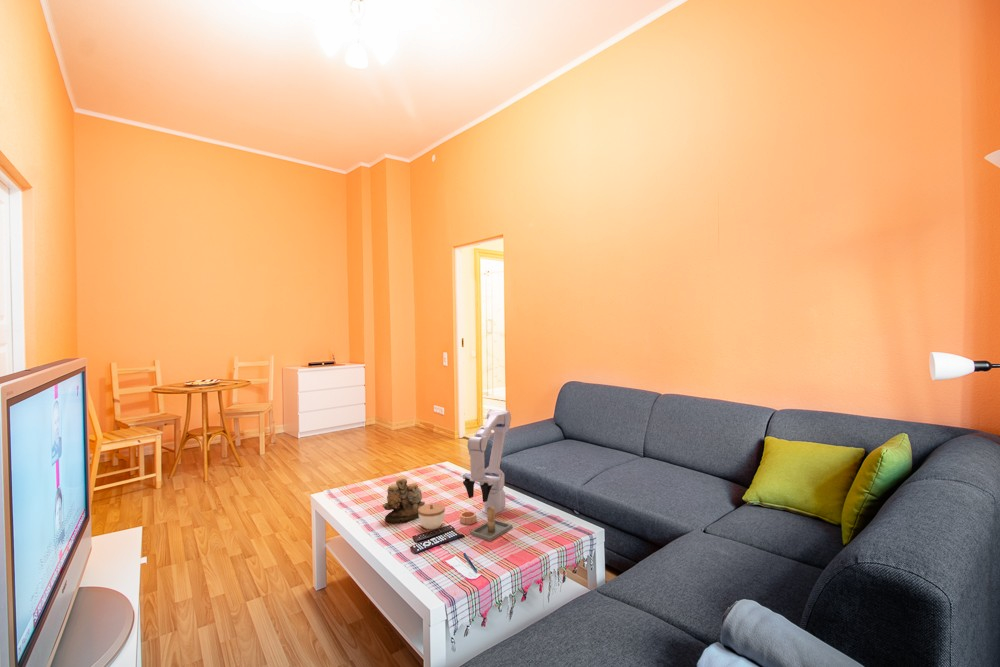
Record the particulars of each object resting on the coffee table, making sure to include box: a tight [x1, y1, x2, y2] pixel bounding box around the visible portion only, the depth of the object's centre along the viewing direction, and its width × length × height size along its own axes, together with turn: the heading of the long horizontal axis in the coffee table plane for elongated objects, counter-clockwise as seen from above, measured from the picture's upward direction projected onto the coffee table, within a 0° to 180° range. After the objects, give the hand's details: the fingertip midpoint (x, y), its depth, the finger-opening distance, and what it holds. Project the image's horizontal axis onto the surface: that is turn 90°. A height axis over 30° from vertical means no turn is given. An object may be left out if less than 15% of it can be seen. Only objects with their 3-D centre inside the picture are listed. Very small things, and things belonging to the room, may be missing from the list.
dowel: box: [486, 507, 496, 533], centre depth 183 cm, size 3×3×9 cm
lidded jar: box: [418, 502, 446, 530], centre depth 189 cm, size 11×11×9 cm
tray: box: [469, 519, 513, 542], centre depth 183 cm, size 14×10×2 cm
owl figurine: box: [382, 477, 426, 525], centre depth 200 cm, size 18×12×17 cm, turn 119°
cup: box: [459, 510, 477, 525], centre depth 193 cm, size 7×7×3 cm
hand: (478, 499), depth 191 cm, fingers open, 7 cm apart
